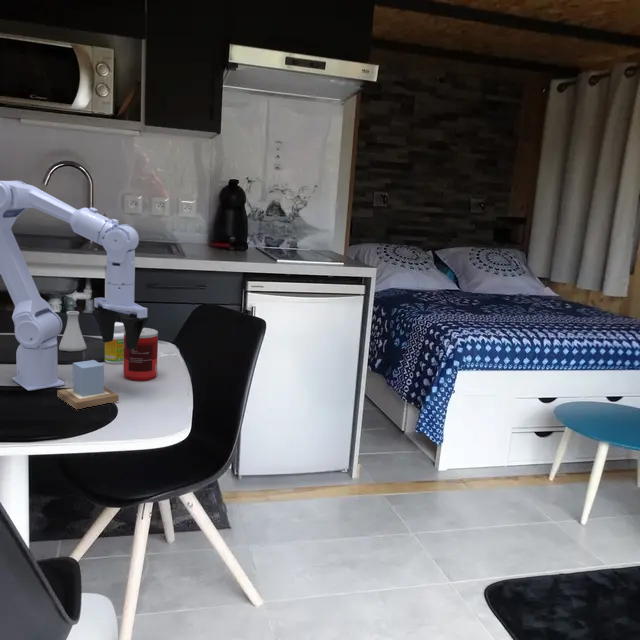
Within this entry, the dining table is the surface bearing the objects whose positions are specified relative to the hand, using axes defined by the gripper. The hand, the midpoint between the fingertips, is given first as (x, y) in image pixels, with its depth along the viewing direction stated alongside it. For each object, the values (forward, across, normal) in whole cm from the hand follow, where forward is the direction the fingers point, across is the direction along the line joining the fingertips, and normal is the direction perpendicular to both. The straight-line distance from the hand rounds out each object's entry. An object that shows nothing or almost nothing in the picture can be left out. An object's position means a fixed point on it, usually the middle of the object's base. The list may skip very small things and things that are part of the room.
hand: (119, 344), depth 137 cm
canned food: (+11, -5, +10) cm, 16 cm away
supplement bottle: (+11, -18, +14) cm, 26 cm away
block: (+9, 0, -8) cm, 12 cm away
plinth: (+10, 0, -8) cm, 13 cm away
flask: (+11, -35, +14) cm, 39 cm away
